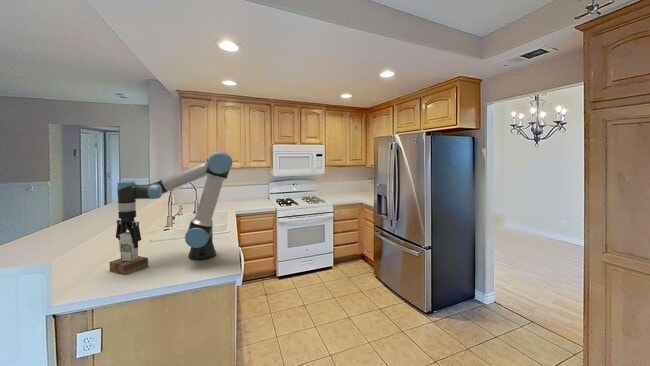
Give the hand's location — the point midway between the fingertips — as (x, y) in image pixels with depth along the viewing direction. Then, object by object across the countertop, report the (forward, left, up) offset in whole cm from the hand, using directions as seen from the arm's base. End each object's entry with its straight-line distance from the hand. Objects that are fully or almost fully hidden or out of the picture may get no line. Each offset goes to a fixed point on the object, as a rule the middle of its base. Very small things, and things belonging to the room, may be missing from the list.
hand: (128, 252), depth 146 cm
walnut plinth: (0, 0, -9) cm, 9 cm away
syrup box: (0, 0, -4) cm, 4 cm away
